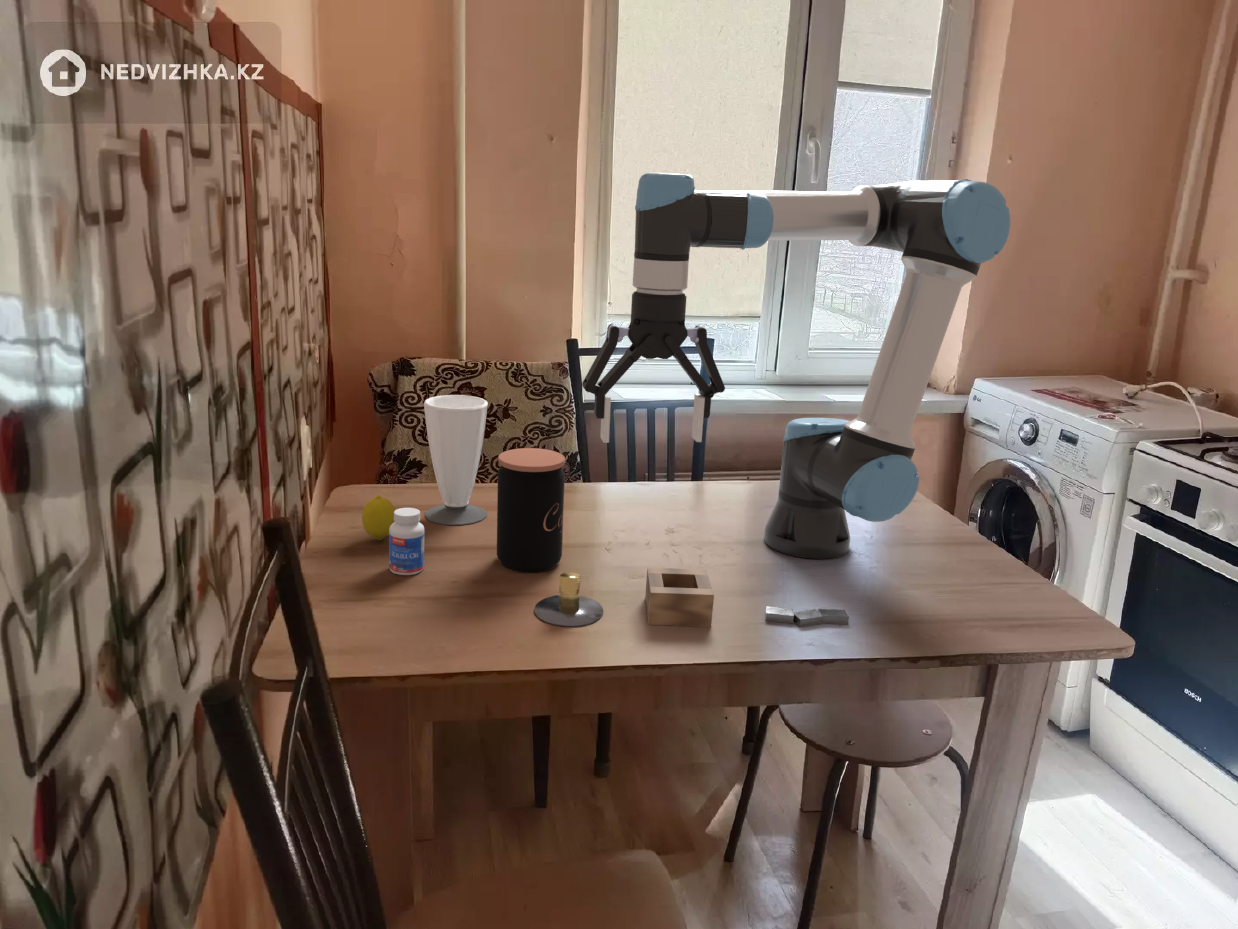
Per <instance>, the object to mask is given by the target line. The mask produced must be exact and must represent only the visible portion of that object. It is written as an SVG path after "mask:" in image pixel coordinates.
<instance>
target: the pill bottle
mask: <svg viewBox="0 0 1238 929" xmlns="http://www.w3.org/2000/svg"><path fill="white" fill-rule="evenodd" d="M394 510H395V511H394V521H395V523H393V524H392V525H391V526H390V528H389V535H388V544H389V545H388V549H389V550H388V551H389V552H388V554H389V555H388V556H389V559H388V561H389V562H388V566H389V567H388V568H389V571H390V572H392V573H393V574H396V575H399V576H414V575H416V574H419V573H421V572H422V571H423V570H424V568H425V526H424V525H423V524H422V523H421V522H420V521H421V511H420V510H419V509H417V508H414V507H400V508H396V509H394Z"/></svg>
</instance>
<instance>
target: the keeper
mask: <svg viewBox="0 0 1238 929" xmlns="http://www.w3.org/2000/svg"><path fill="white" fill-rule="evenodd" d="M558 587H559V589H558V590H559V592H558V593H559V594H558V595H557V594H556V595H552V596H547V597H545V598H542V599H541V600H539V601H538V602H537V603H536V604H535V606H534V614H535V615H536V617H537V618H538V619H539V620H541V621H543V622H545V623H547V624H550V625H552V626H558V627H559V626H560V627H570V628H573V627H582V626H587V625H591V624H594V623H596V622H598V621H599V620H600V619H601V618H602V617H603V615H604V609H603V606H602V605H601V603H599V602H598V601H597V600H594V599H592V598H590V597H588V596H582V595H581V575H580V574H579V573H577V572H571V571H569V572H568V571H567V572H566V571H565V572H563V573H562V572H561V574H560V575H559V586H558Z"/></svg>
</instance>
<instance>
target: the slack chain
mask: <svg viewBox="0 0 1238 929" xmlns="http://www.w3.org/2000/svg"><path fill="white" fill-rule="evenodd" d="M764 616H765V621H767V622H777V623H786V624H795V625H797V626H798V627H799V628H802V627H810V626H815V625H822V624H828V625H829V624H830V625H849V621H850V620H849V619H850V616H849V614H848V613H847V611H846V610H845V609H839V608H838V609H833V608H832V609H830V608H818V609H815V608H814V609H806V610H800V611H794V608H788V607H787V608H786V607H778V606H770V605H769V606H768V605H766V606H765V614H764Z"/></svg>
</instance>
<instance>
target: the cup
mask: <svg viewBox="0 0 1238 929" xmlns="http://www.w3.org/2000/svg"><path fill="white" fill-rule="evenodd" d="M488 403H489V402H488V401H487V400H486V399H484V398H481V397H478V396H471V395H465V394H447V395H438V396H437V395H436V396H431V397H428V398H427V399H425V400H424V402H423V407H424V408H423V409H424V417H425V418H424V419H425V424H426V434H427V439H428V445H429V446H428V447H429V451H430V452H429V453H430V456H431V462H432V468H433V471H434V475H435V479H436V483H437V484H436V485H437V487H438V491H439V494H440V497H441V500H442V504H440V505H436V506H433V507H431V508H429V509H427V510H426V511H425V512H424V517H425V518H426V520H428V521H429V522H431V523H434V524H437V525H443V526H467V525H468V526H469V525H473V524H477V523H479V522H481V521H483V520H484V519H486V518H487V515H488V511H486V510H485V509H484V508H482V507H481V506H478V505H473V504H469V502H470V499H471V496H472V493H473V489H474V487H475V483H476V482H475V481H476V478H477V474H478V469H479V465H480V459H481V454H482V449H483V443H484V437H485V429H486V421H487V420H486V419H487V413H488V412H487V411H488V405H489V404H488Z"/></svg>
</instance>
